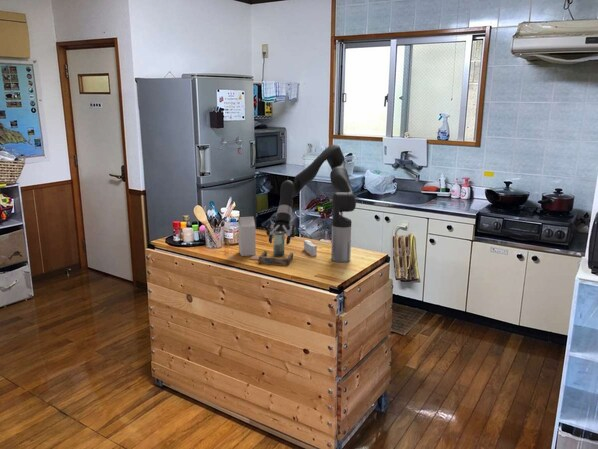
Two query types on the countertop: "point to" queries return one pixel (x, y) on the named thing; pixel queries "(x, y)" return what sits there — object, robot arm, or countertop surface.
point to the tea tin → (279, 243)
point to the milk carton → (247, 236)
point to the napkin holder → (310, 248)
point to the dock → (275, 259)
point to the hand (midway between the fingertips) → (278, 243)
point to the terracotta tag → (255, 257)
